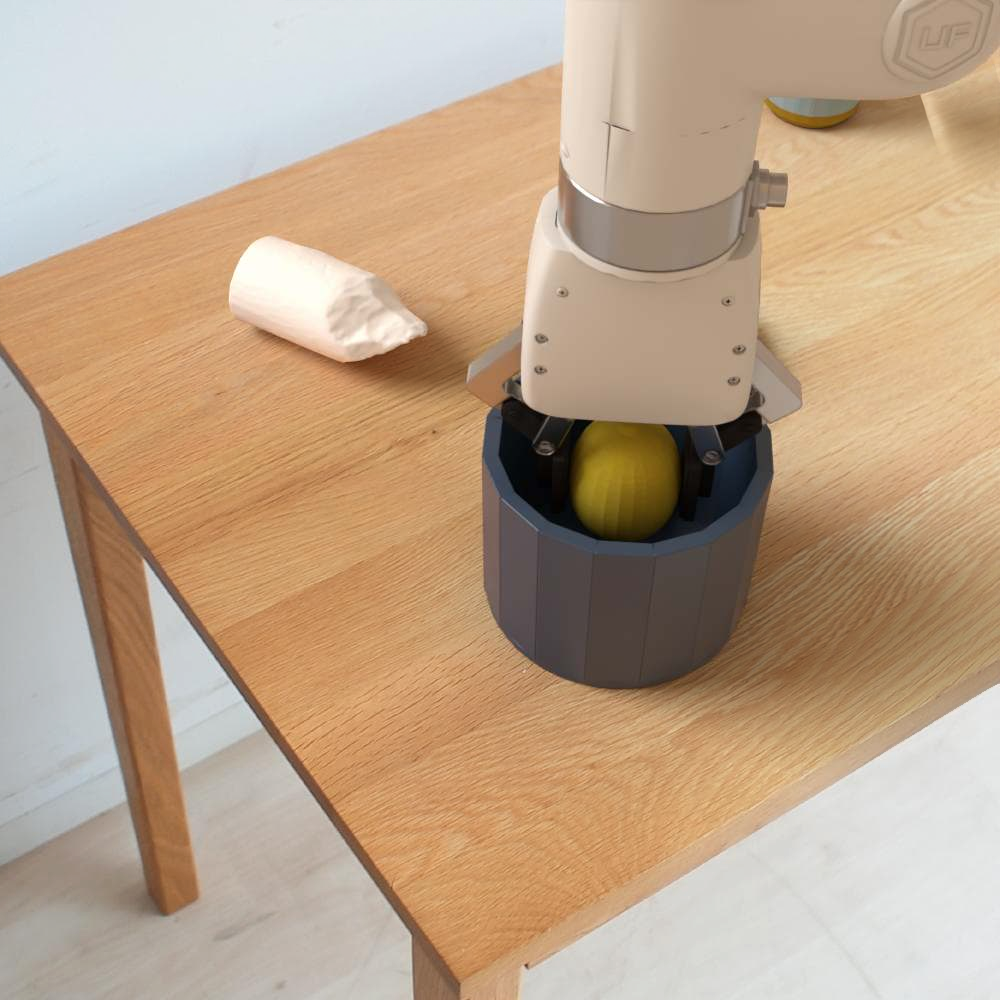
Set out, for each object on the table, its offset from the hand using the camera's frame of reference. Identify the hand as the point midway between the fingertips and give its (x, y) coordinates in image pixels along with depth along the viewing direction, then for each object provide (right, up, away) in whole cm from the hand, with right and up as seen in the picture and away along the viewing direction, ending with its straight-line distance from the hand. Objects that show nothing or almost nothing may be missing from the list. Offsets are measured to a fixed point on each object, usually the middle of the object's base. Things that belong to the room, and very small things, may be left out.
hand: (622, 493), depth 71 cm
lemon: (0, -2, +2) cm, 3 cm away
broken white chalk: (-16, +9, +17) cm, 25 cm away
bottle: (+16, +28, +34) cm, 47 cm away
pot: (0, -5, +5) cm, 7 cm away
